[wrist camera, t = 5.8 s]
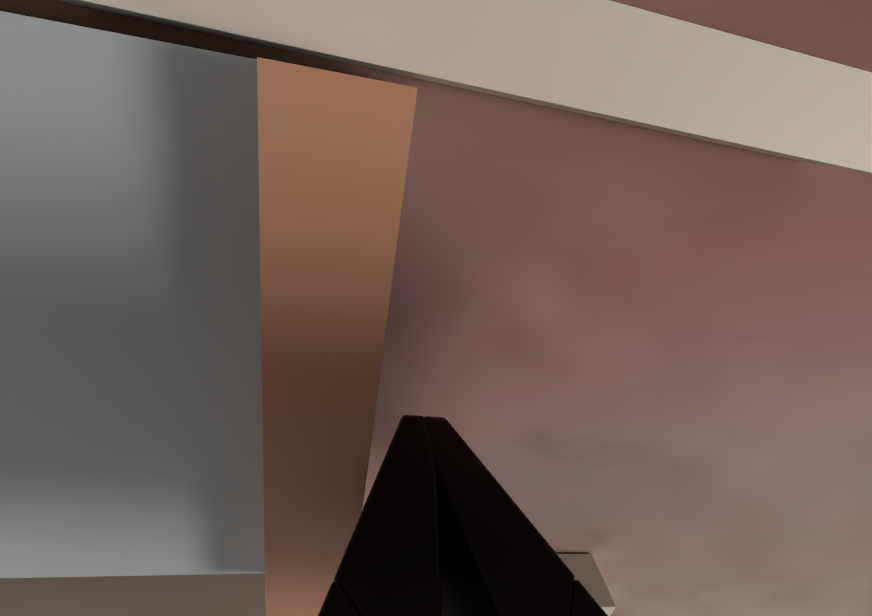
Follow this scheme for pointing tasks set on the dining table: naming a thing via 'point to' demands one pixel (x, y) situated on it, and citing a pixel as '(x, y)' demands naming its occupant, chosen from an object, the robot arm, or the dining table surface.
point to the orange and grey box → (189, 307)
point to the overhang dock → (524, 81)
